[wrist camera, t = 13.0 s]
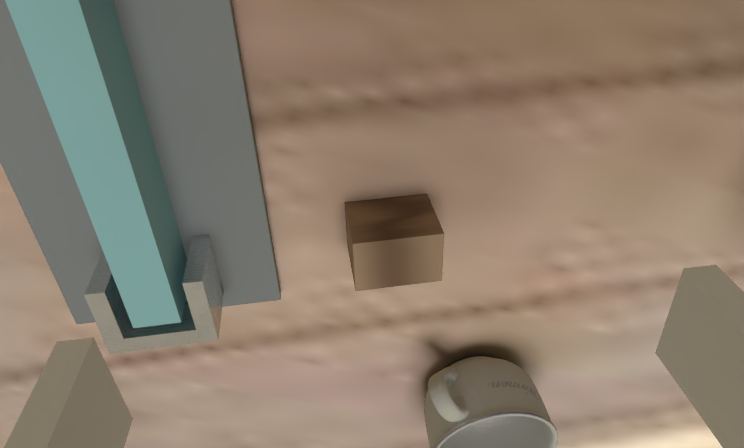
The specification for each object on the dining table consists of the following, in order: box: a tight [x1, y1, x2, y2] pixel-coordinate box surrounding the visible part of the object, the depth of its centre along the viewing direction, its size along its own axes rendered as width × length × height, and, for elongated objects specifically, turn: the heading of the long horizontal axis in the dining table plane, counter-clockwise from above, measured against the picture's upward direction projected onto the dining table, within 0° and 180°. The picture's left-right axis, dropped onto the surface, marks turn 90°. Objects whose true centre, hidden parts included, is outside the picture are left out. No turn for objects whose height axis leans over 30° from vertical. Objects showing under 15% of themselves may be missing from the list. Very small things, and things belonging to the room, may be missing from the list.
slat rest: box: [345, 194, 444, 291], centre depth 33 cm, size 6×24×5 cm, turn 2°
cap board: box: [0, 0, 281, 324], centre depth 33 cm, size 15×31×1 cm, turn 2°
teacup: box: [424, 356, 558, 448], centre depth 48 cm, size 14×11×8 cm
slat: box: [5, 0, 187, 328], centre depth 31 cm, size 3×24×5 cm, turn 2°
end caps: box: [84, 235, 224, 354], centre depth 31 cm, size 7×28×5 cm, turn 2°
